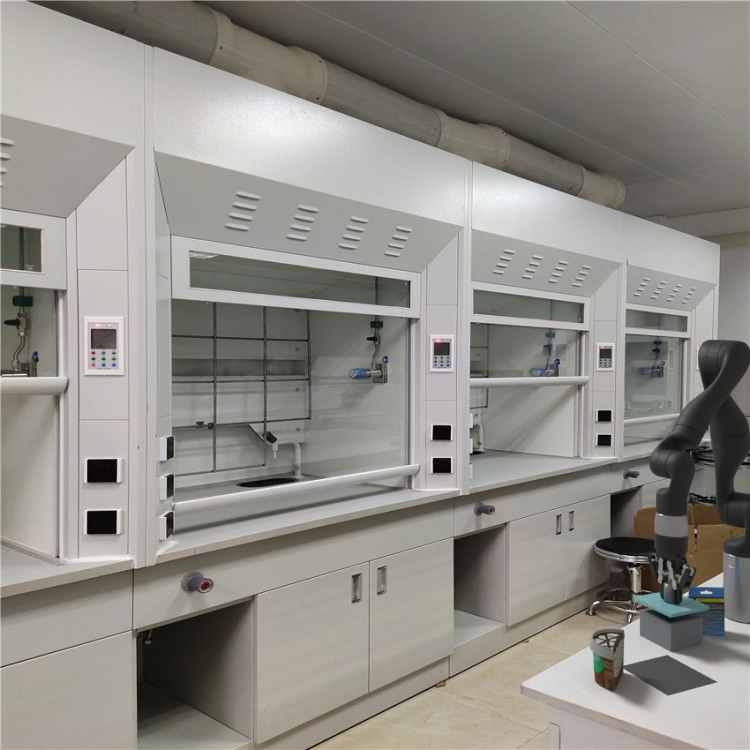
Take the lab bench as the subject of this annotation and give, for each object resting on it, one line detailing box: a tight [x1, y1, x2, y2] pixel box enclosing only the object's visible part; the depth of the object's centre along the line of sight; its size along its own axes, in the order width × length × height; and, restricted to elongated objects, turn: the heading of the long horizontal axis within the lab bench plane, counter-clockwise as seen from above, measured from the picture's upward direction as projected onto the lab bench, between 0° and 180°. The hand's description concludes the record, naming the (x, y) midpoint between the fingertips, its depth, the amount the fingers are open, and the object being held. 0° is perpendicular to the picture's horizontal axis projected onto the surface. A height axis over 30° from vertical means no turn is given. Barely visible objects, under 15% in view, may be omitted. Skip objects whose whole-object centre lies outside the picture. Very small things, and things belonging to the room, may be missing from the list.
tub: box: [639, 607, 703, 653], centre depth 169 cm, size 10×10×7 cm
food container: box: [588, 628, 626, 692], centre depth 150 cm, size 12×6×10 cm, turn 149°
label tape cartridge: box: [687, 586, 726, 636], centre depth 175 cm, size 9×4×12 cm, turn 84°
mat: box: [623, 654, 718, 696], centre depth 152 cm, size 14×14×1 cm
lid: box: [633, 580, 709, 618], centre depth 169 cm, size 12×12×5 cm
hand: (670, 600), depth 169 cm, fingers closed on lid, 3 cm apart
